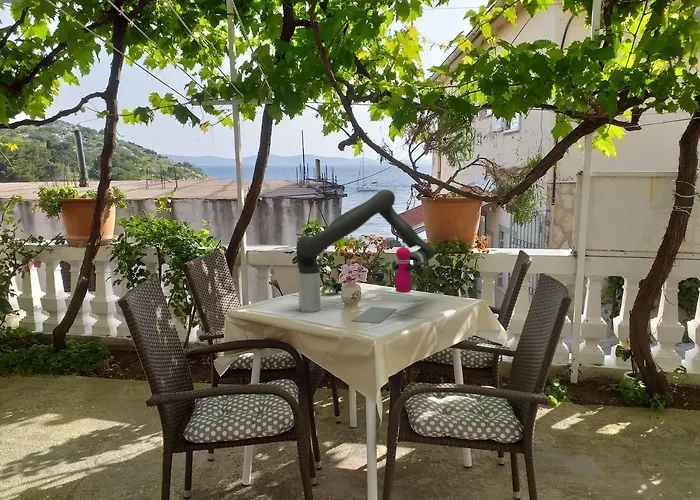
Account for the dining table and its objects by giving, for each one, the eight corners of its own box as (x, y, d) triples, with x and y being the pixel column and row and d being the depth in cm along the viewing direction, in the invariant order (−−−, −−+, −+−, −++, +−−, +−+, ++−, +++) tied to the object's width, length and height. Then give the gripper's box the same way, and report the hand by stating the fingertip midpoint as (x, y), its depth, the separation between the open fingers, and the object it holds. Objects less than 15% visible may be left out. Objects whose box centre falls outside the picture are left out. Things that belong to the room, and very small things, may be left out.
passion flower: (336, 303, 266) (350, 284, 265) (333, 304, 255) (347, 284, 254) (319, 290, 267) (332, 271, 267) (315, 291, 256) (329, 271, 256)
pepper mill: (400, 288, 218) (401, 241, 215) (415, 290, 214) (415, 243, 211) (391, 291, 213) (391, 244, 210) (405, 294, 208) (405, 245, 205)
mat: (379, 323, 207) (379, 322, 207) (351, 321, 211) (351, 320, 211) (397, 309, 229) (397, 308, 228) (371, 307, 233) (371, 306, 233)
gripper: (397, 252, 227) (384, 258, 211) (429, 253, 221) (418, 260, 206) (397, 268, 228) (384, 276, 213) (429, 270, 223) (418, 279, 207)
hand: (401, 268), depth 209 cm, fingers closed on pepper mill, 5 cm apart
